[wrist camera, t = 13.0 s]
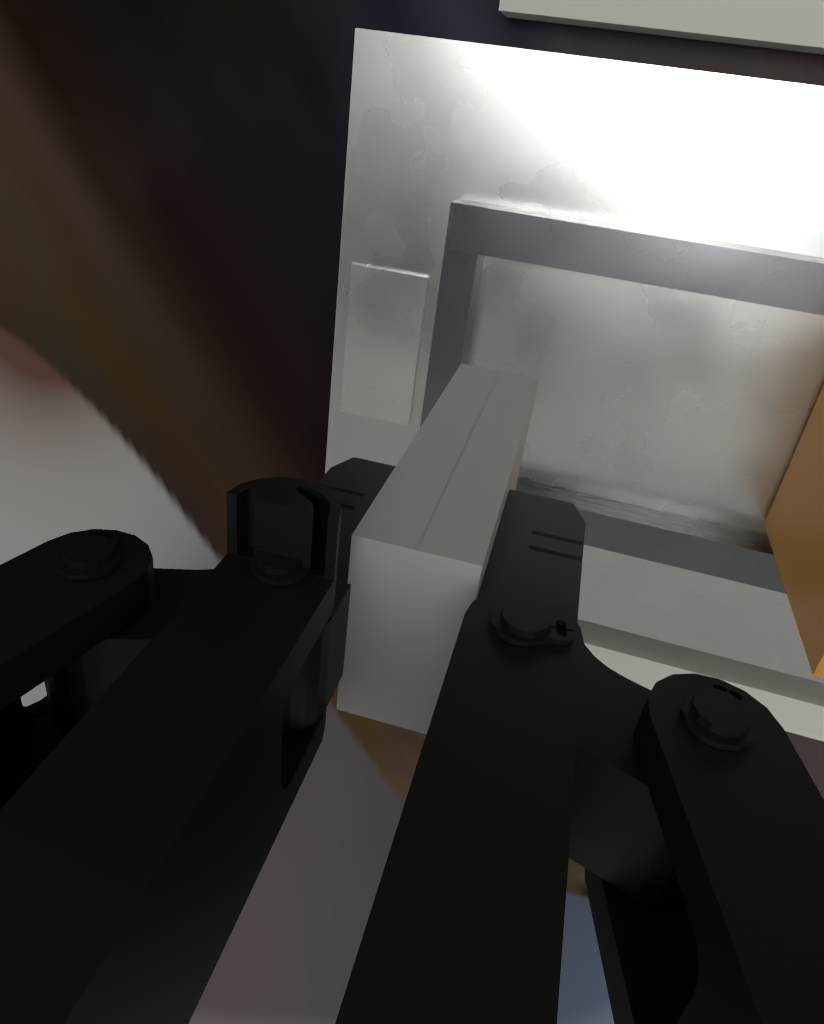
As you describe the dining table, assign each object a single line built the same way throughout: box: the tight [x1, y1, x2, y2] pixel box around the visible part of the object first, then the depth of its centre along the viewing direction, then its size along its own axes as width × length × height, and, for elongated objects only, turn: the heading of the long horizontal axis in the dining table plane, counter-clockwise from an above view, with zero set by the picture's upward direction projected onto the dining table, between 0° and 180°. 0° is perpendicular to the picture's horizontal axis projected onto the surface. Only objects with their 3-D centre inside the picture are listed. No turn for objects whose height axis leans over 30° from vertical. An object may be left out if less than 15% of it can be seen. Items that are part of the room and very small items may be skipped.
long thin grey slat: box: [577, 619, 824, 741], centre depth 22 cm, size 14×3×2 cm, turn 82°
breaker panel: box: [325, 28, 824, 683], centre depth 18 cm, size 20×14×3 cm
